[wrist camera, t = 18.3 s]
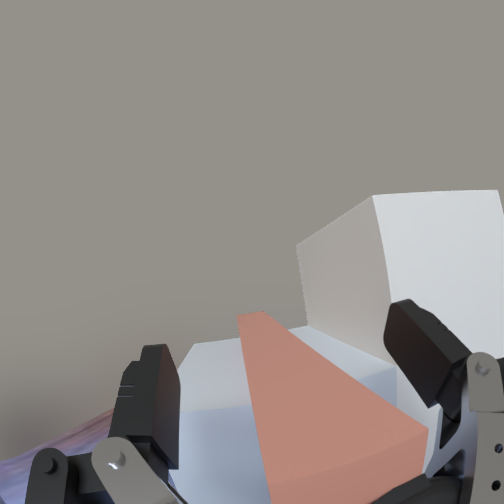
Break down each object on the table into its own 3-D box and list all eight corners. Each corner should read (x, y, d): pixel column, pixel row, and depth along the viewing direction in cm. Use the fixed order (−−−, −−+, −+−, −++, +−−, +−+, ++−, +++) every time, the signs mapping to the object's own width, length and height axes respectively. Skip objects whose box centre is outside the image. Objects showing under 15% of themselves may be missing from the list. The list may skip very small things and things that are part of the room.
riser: (481, 488, 13) (497, 190, 16) (228, 583, 10) (118, 228, 14) (403, 432, 32) (389, 232, 36) (226, 480, 30) (181, 262, 33)
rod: (410, 518, 3) (428, 428, 4) (284, 560, 3) (267, 484, 3) (266, 336, 31) (262, 311, 31) (240, 341, 31) (236, 315, 31)
